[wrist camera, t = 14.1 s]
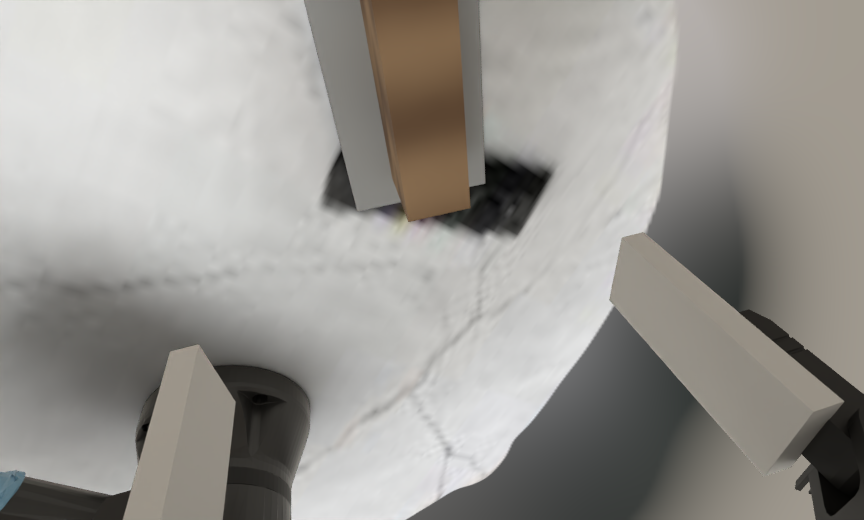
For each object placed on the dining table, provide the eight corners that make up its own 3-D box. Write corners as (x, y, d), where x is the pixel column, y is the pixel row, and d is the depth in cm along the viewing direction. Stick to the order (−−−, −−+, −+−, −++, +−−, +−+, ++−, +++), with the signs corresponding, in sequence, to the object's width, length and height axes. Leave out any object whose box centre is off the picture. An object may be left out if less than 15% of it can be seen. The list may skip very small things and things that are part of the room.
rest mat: (482, 179, 34) (485, 183, 34) (356, 207, 33) (357, 211, 33) (463, -303, 19) (467, -308, 19) (232, -284, 18) (231, -290, 18)
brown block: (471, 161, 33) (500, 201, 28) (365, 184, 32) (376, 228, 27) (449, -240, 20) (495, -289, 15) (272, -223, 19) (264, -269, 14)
